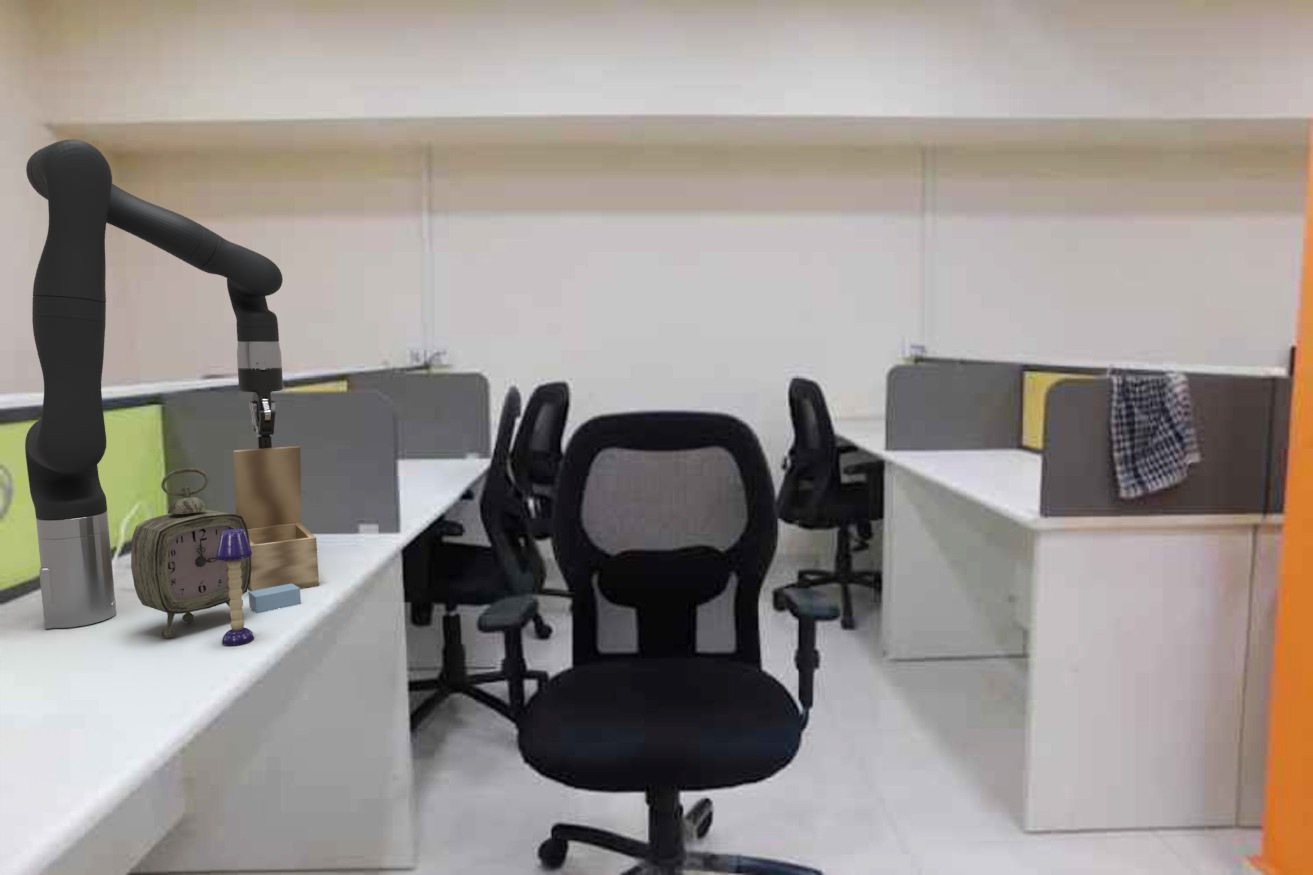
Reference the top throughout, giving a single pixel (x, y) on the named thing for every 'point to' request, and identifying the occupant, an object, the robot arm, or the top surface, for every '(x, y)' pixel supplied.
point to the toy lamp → (235, 582)
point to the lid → (268, 486)
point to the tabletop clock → (184, 557)
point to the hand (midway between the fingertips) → (265, 456)
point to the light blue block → (274, 598)
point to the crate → (283, 557)
